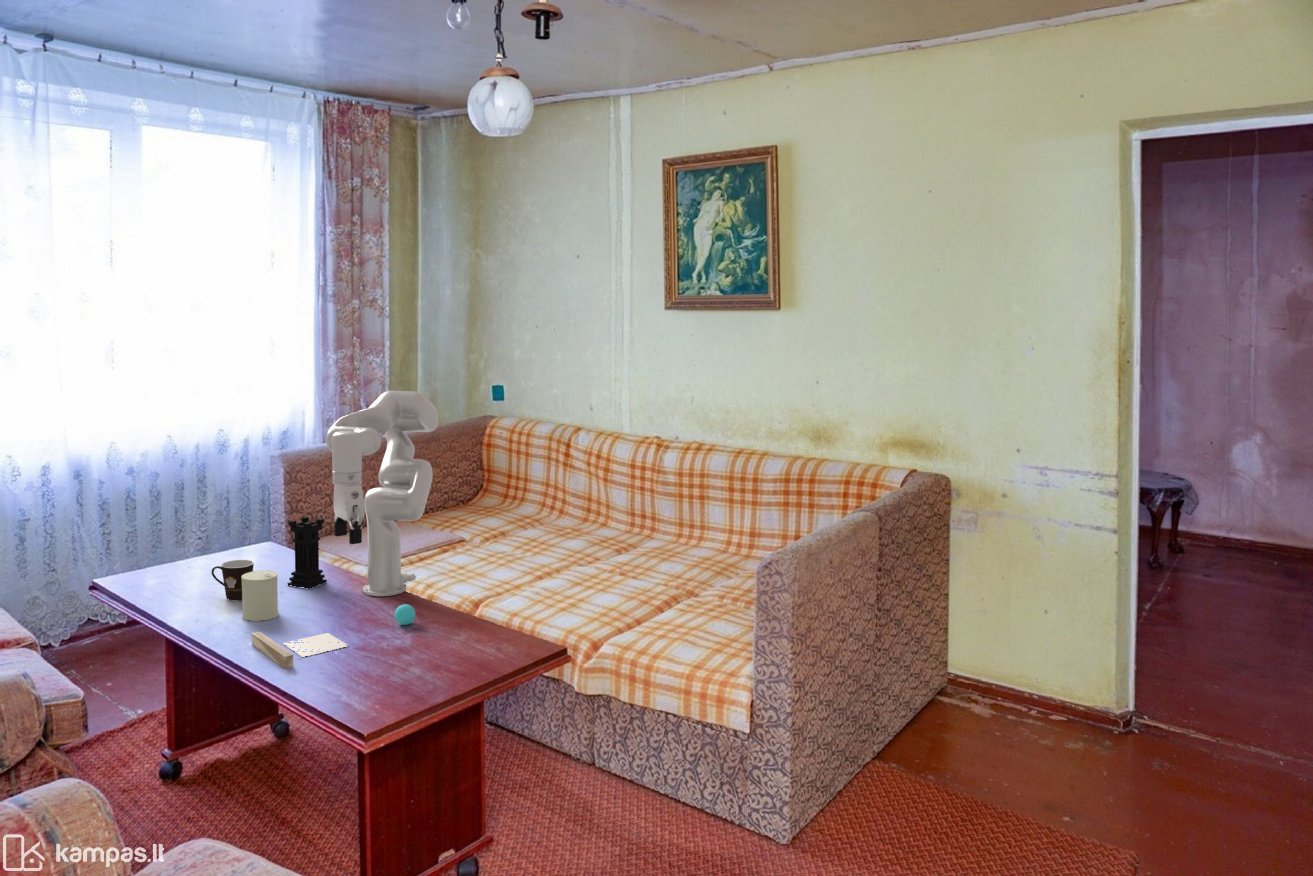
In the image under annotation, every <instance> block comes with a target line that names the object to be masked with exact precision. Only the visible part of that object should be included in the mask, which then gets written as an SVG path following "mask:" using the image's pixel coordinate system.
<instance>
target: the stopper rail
mask: <svg viewBox="0 0 1313 876" xmlns="http://www.w3.org/2000/svg"><path fill="white" fill-rule="evenodd" d="M251 646H253V647H254V648H256V650H258V649H259V650H258V651H260V652H261V653H262V654H264V655H265V656H267V657H268V658H270V660H272V661H274V662H275V663H276V664H278V665H279V666H280V665H281V667H282V668H283V669H286V670H287V669H289V668H294V654H293V653H291V652H290V651H289V650H287V649H286V648H284V647H283V646H282V645H280V644H279V643H277V642H276V641H274V640H272V638H270V637H268V636H266V635H265V634H264V633H263V632H261V631H255V632H251Z"/></svg>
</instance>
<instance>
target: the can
mask: <svg viewBox="0 0 1313 876" xmlns="http://www.w3.org/2000/svg"><path fill="white" fill-rule="evenodd" d="M241 578H242V600H241V601H242V603H241V604H242V616H241V618H242V619H243V620H245V621H247V620H251V621H250V622H263V621H262V620H266V621H268V620H269V619H270V620H272V618H273V619H275V618H277V617H278V616H279V605H278V604H279V602H278V601H279V600H278V596H279V595H278V593H279V592H278V573H277V572H276V571H274V570H273V571H272V570H255V571H254V570H253V572H249V573H245V574H243V575H242V576H241ZM260 620H261V621H260ZM270 620H269V621H270Z"/></svg>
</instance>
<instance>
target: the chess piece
mask: <svg viewBox="0 0 1313 876" xmlns="http://www.w3.org/2000/svg"><path fill="white" fill-rule="evenodd" d="M300 519H301V520H300V521H299V522H297V520H293V519H292V520H291V519H290V520H288V522H287V525H288V526H290V533H291V532H293V533H294V538H292V542H293V543H294V569H295V570H294V571H291V572H290V574H291V577H289V579H288V580H289V582H287V584H288V585H292V586H296V587H295V588H298V587H304V588H308V589H307V590H311V589H313V588H312V587H314V588H316V587H318V586H317V585H319V584H321V585H324V584H326V583H327V582H328V580H327V579H324V578H326V577H325V574H322V573H323V572H324V571H323V569H320V567H319V566H320V554H319V552H320V551H319V546H320V545H319V543H320V542H319V541H320V540H321V536H319V531H321V530H323V524H325V519H324V518H317V519H315V521H311V520H310V517H309V516H301V517H300ZM325 582H326V583H325ZM323 583H324V584H323ZM287 584H286V585H287ZM292 586H291V587H292ZM315 586H316V587H315ZM319 586H320V585H319ZM304 588H303V589H304ZM310 588H311V589H310Z"/></svg>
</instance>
